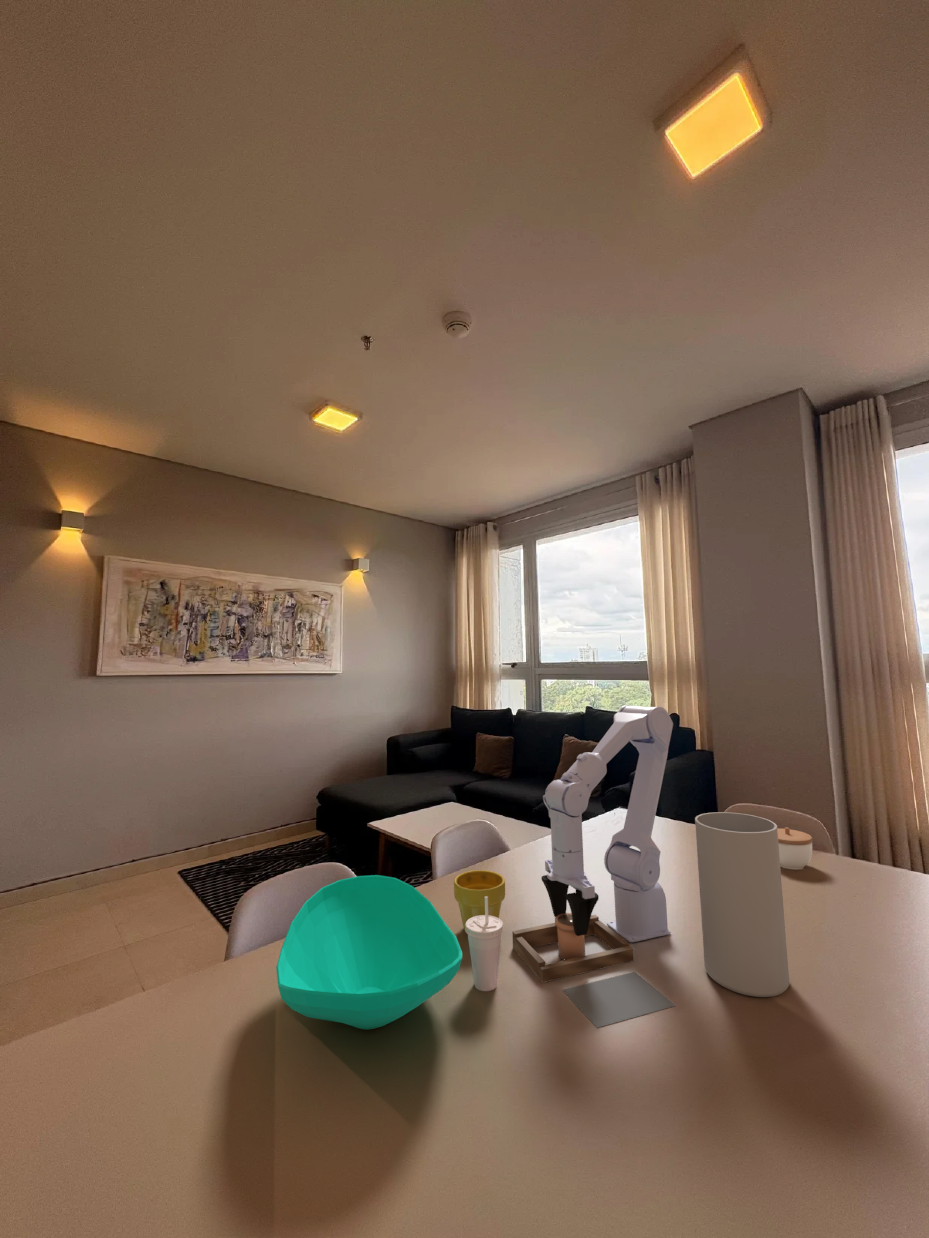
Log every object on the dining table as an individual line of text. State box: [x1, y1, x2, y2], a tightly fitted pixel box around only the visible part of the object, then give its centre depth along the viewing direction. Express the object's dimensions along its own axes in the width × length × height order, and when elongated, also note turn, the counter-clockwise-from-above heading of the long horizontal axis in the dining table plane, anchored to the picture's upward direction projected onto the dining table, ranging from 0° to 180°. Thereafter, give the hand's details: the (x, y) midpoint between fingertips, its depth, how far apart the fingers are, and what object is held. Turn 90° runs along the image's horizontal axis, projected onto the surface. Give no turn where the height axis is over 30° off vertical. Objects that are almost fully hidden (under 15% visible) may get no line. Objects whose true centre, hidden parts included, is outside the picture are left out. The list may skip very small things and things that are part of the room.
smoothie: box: [464, 896, 504, 992], centre depth 89 cm, size 6×6×14 cm
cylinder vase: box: [694, 811, 790, 998], centre depth 90 cm, size 12×12×25 cm
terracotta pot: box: [554, 912, 586, 960], centre depth 98 cm, size 6×6×6 cm
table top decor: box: [275, 874, 463, 1030], centre depth 83 cm, size 40×28×13 cm
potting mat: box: [562, 971, 677, 1029], centre depth 84 cm, size 14×10×1 cm
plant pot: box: [453, 869, 506, 933], centre depth 108 cm, size 10×10×10 cm
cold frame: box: [511, 914, 635, 983], centre depth 98 cm, size 18×12×3 cm, turn 109°
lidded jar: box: [777, 827, 813, 871], centre depth 138 cm, size 11×11×9 cm
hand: (570, 924), depth 98 cm, fingers open, 7 cm apart
